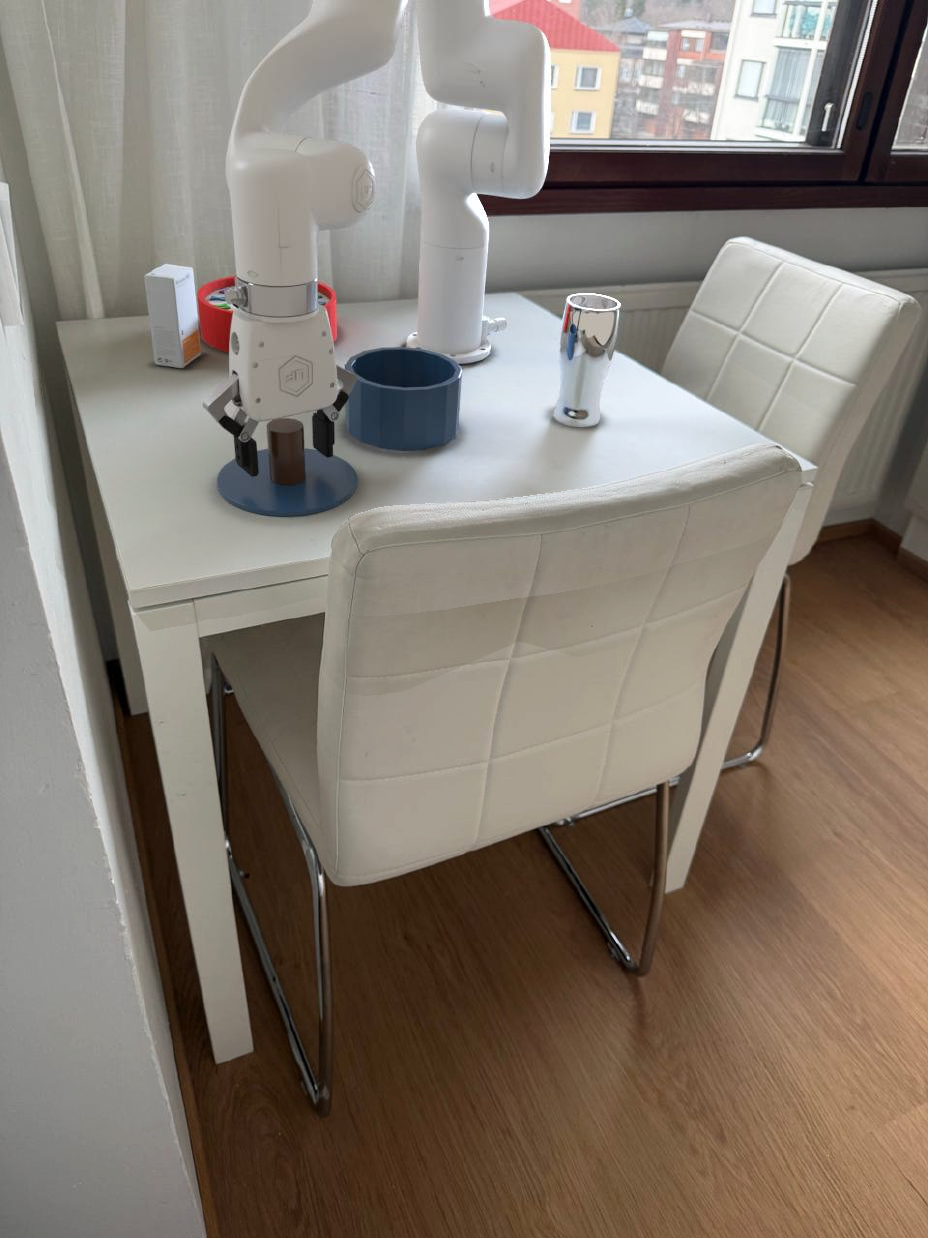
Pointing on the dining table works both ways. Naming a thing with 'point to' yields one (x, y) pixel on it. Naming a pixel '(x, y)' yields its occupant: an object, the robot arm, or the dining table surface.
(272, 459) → the tin lid
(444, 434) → the tin
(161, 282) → the cosmetic box
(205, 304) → the toy clock
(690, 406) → the dining table surface
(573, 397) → the beer glass
